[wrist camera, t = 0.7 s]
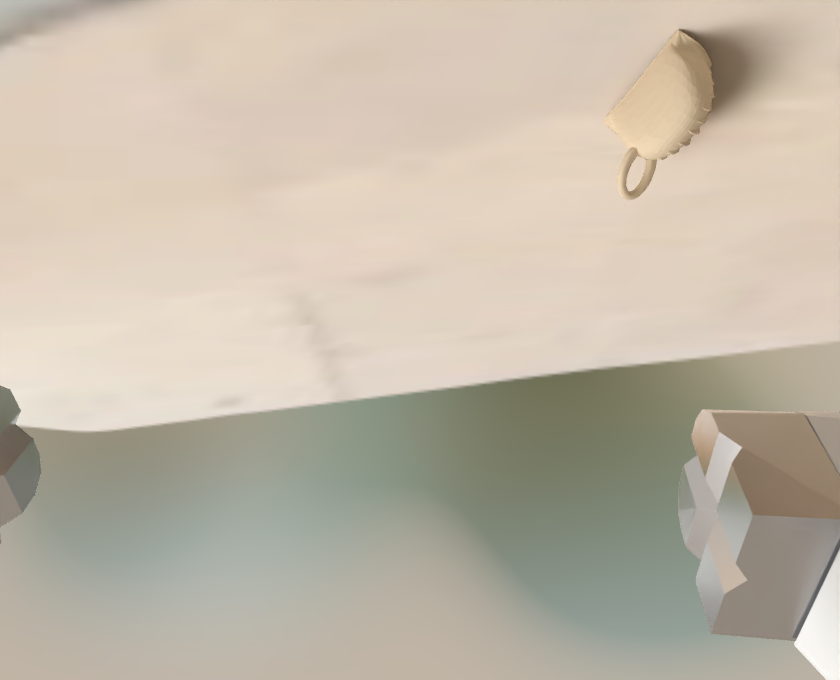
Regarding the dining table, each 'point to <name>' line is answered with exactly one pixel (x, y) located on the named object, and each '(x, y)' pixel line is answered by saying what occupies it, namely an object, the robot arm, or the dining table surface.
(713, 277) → the dining table surface
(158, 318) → the dining table surface
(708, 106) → the decorative ornament
